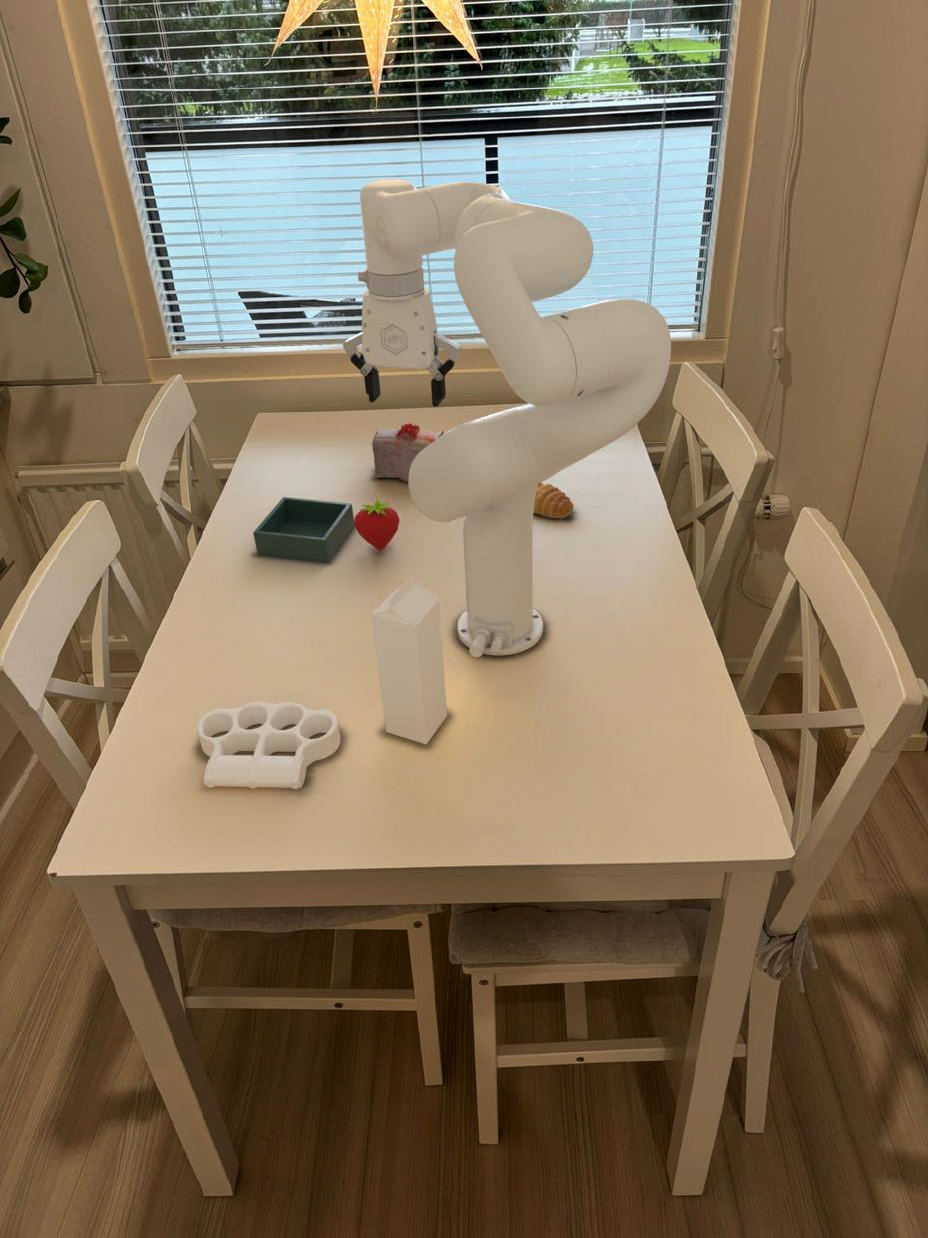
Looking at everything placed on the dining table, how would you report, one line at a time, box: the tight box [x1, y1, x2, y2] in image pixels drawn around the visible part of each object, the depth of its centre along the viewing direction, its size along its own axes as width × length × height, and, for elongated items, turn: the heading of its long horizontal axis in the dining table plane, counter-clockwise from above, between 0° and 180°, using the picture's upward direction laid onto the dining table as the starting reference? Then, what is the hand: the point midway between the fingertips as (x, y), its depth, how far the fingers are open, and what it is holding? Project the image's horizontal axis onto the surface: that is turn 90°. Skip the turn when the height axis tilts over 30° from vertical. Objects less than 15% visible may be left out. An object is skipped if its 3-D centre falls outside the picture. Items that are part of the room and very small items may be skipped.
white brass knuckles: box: [196, 700, 341, 790], centre depth 117 cm, size 3×18×15 cm
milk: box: [371, 572, 448, 745], centre depth 114 cm, size 6×6×22 cm
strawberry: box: [354, 493, 400, 551], centre depth 153 cm, size 6×8×10 cm
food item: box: [371, 422, 445, 483], centre depth 175 cm, size 14×8×10 cm, turn 83°
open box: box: [252, 496, 355, 564], centre depth 158 cm, size 12×13×4 cm
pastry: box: [533, 482, 574, 519], centre depth 163 cm, size 9×7×4 cm
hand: (406, 400), depth 135 cm, fingers open, 9 cm apart
